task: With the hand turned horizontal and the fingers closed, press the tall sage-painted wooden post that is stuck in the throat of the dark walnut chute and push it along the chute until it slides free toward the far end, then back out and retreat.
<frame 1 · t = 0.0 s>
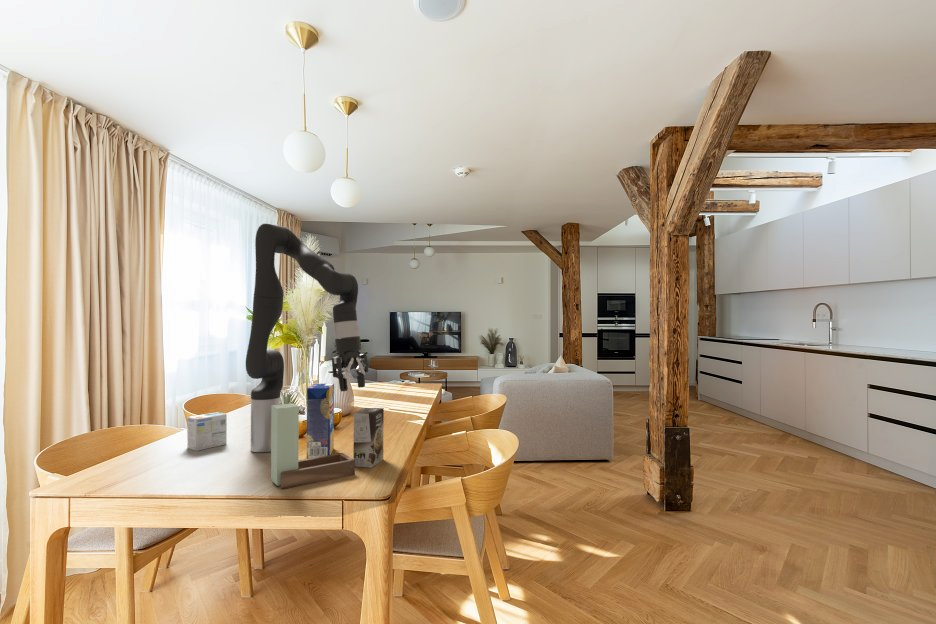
hand: (353, 389, 150), 22 cm above the table, tool pointing down, fingers open, 8 cm apart
coffee box: (368, 463, 149), on the table
beverage box: (320, 454, 159), on the table
light bulb box: (207, 446, 168), on the table
block: (284, 443, 131), point 11 cm above the table, slide at 0.0 cm
chute: (314, 477, 136), on the table
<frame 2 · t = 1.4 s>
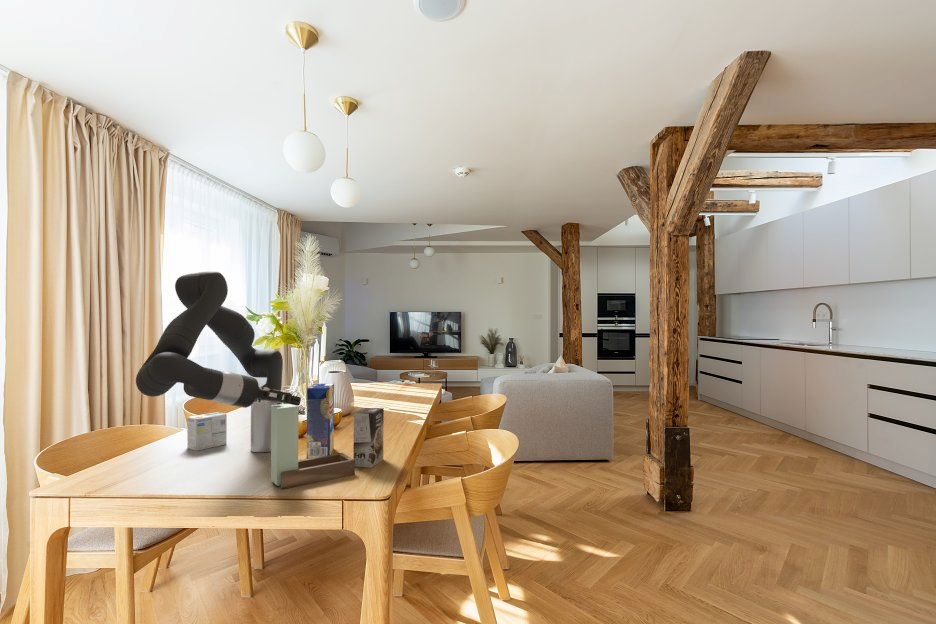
hand: (289, 401, 130), 22 cm above the table, tool tilted 70°, fingers open, 8 cm apart
nothing on the table moved.
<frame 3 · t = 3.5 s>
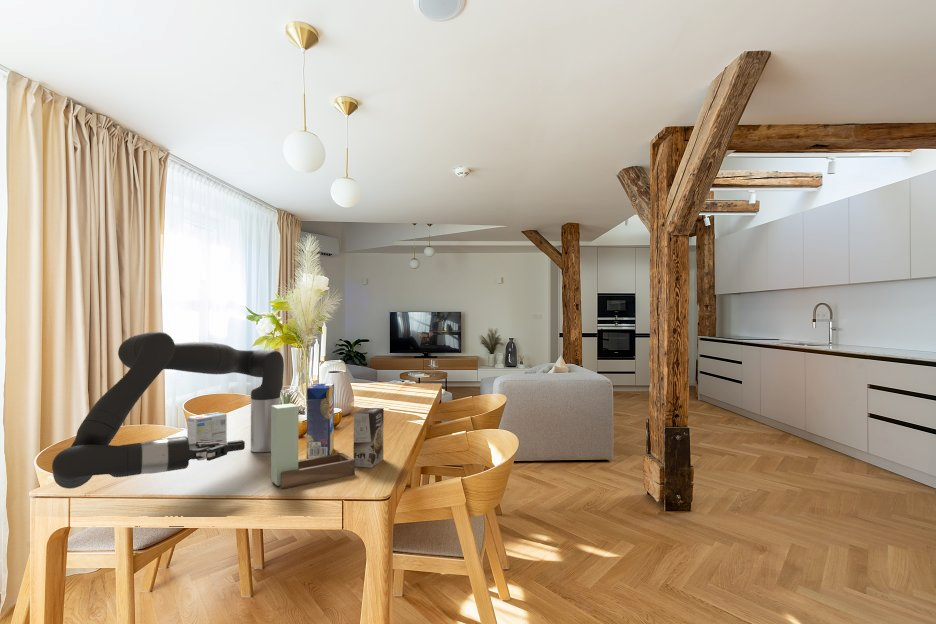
hand: (243, 444, 125), 12 cm above the table, tool horizontal, fingers closed
nothing on the table moved.
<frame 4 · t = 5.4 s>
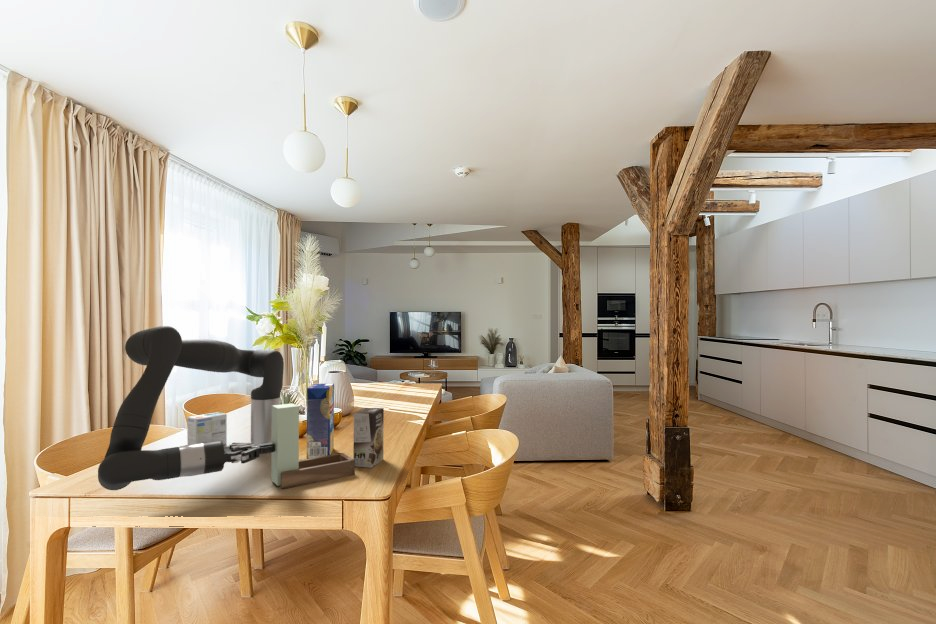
hand: (274, 447, 129), 10 cm above the table, tool horizontal, fingers closed
block: (285, 443, 131), point 11 cm above the table, slide at 0.1 cm, touching gripper
everything else where it was.
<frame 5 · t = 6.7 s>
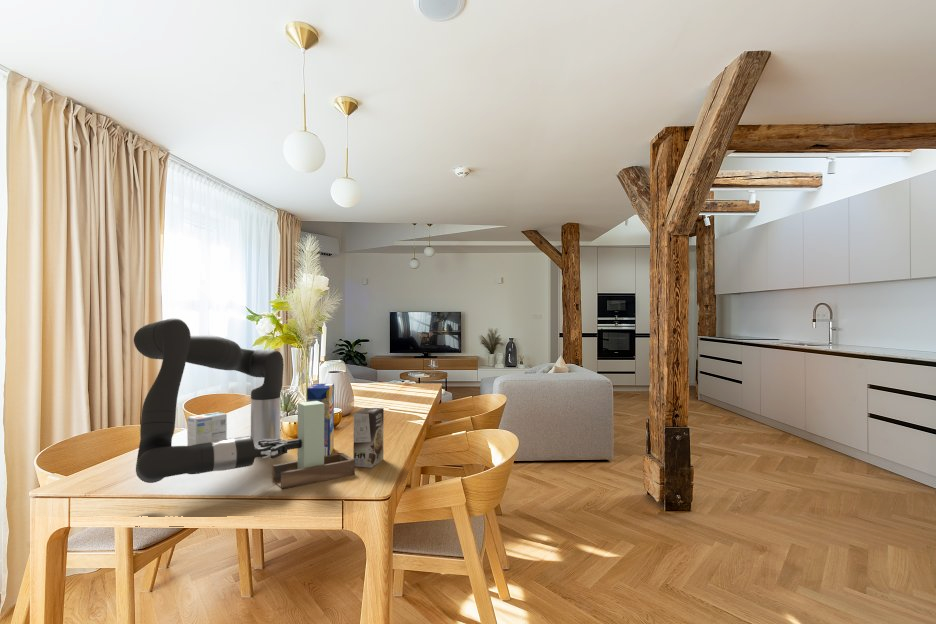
hand: (300, 443, 133), 10 cm above the table, tool horizontal, fingers closed
block: (310, 439, 135), point 11 cm above the table, slide at 7.1 cm, touching gripper
everything else where it was.
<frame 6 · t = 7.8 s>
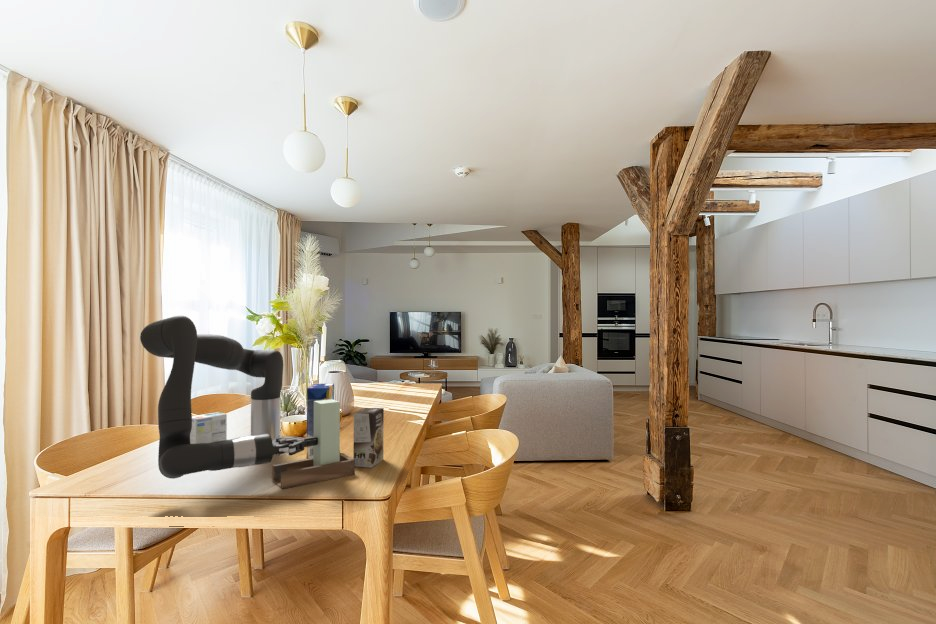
hand: (316, 440, 136), 10 cm above the table, tool horizontal, fingers closed
block: (326, 436, 138), point 11 cm above the table, slide at 11.5 cm, touching gripper
everything else where it was.
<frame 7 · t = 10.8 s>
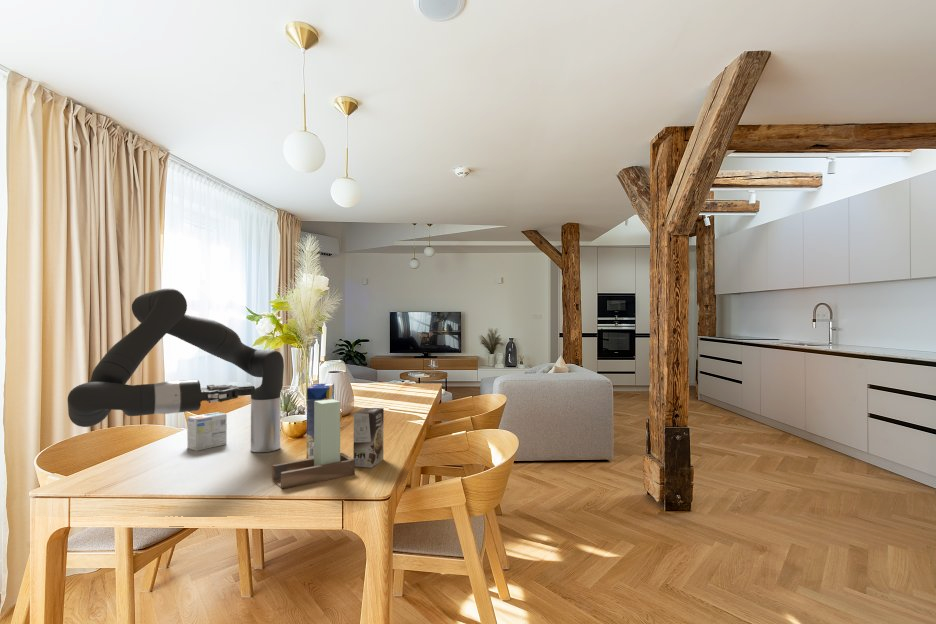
hand: (253, 389, 126), 26 cm above the table, tool horizontal, fingers closed
block: (327, 436, 138), point 11 cm above the table, slide at 11.7 cm
everything else where it was.
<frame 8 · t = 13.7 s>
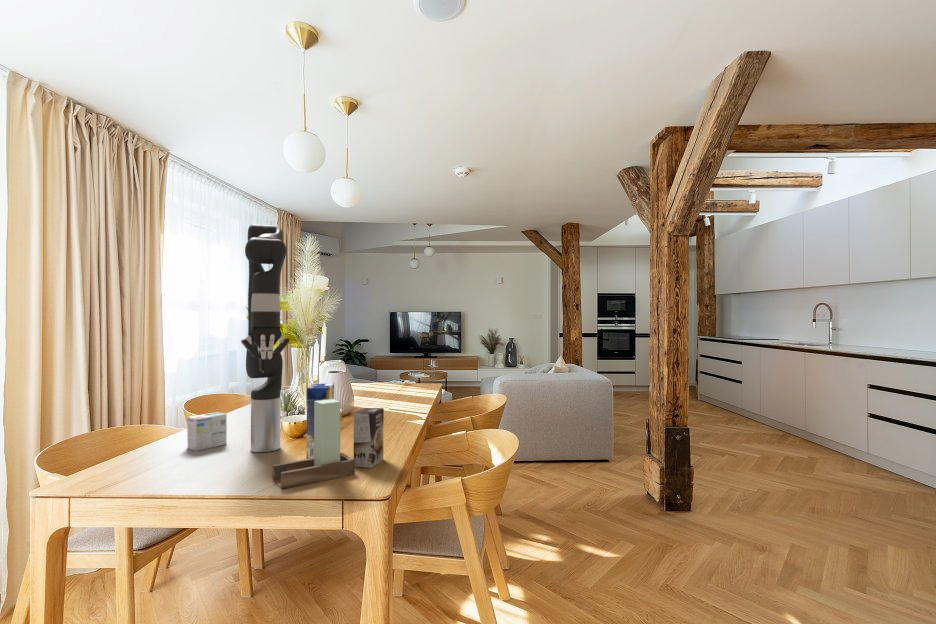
hand: (265, 372, 136), 29 cm above the table, tool pointing down, fingers closed
nothing on the table moved.
at the end: block slide at 11.7 cm; block inside the target area (0.7 cm from its centre), resting on chute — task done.
